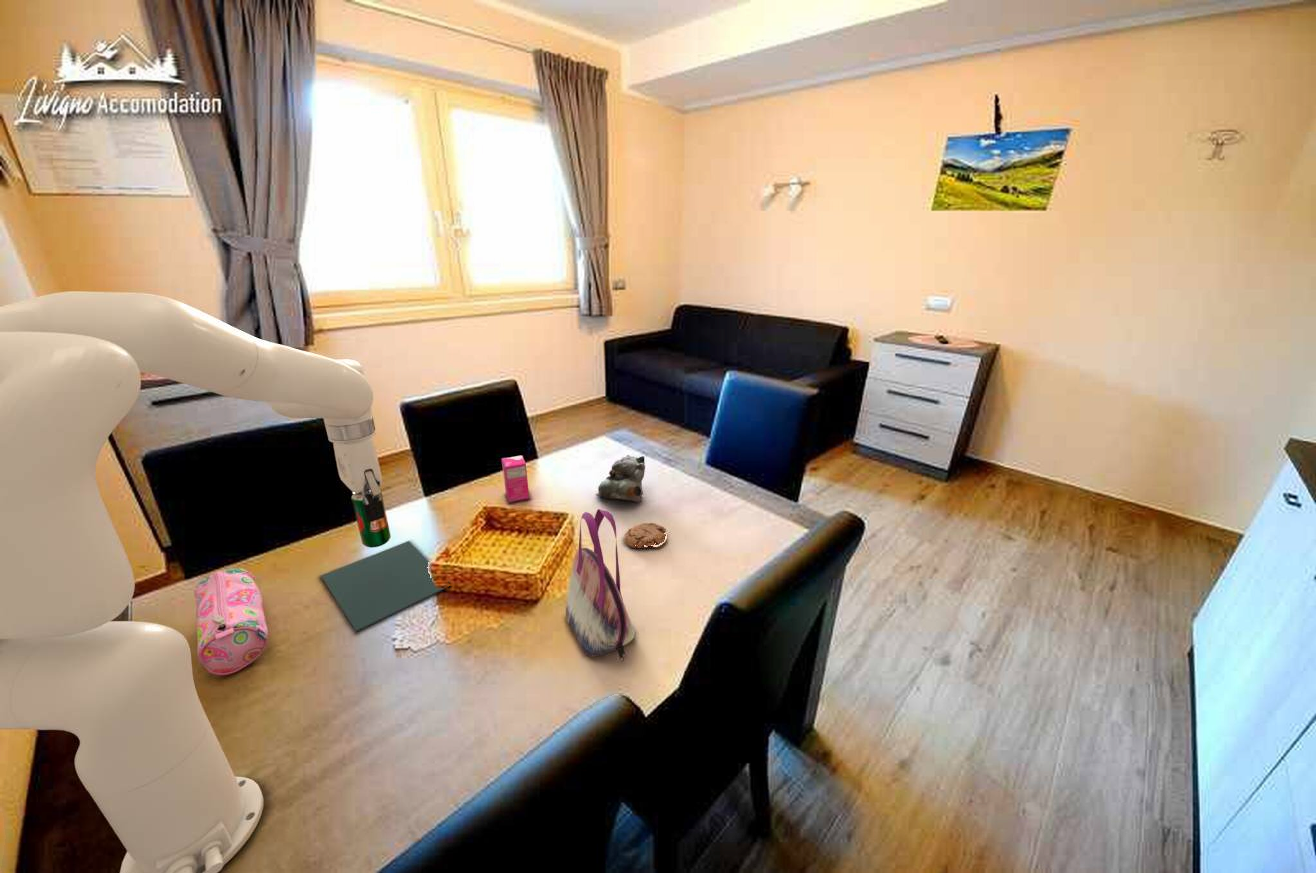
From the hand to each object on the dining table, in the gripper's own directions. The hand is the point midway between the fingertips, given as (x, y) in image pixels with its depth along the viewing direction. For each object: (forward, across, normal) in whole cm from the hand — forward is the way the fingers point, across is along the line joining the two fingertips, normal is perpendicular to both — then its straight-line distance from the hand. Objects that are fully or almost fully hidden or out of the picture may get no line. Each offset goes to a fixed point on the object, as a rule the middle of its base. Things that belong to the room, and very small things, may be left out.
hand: (370, 512), depth 95 cm
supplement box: (+17, -12, +39) cm, 44 cm away
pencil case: (+17, -3, -24) cm, 30 cm away
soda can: (+7, 0, 0) cm, 7 cm away
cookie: (+17, +28, +50) cm, 60 cm away
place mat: (+17, 0, 0) cm, 17 cm away
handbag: (+17, +42, +23) cm, 51 cm away
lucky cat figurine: (+17, +8, +60) cm, 63 cm away
